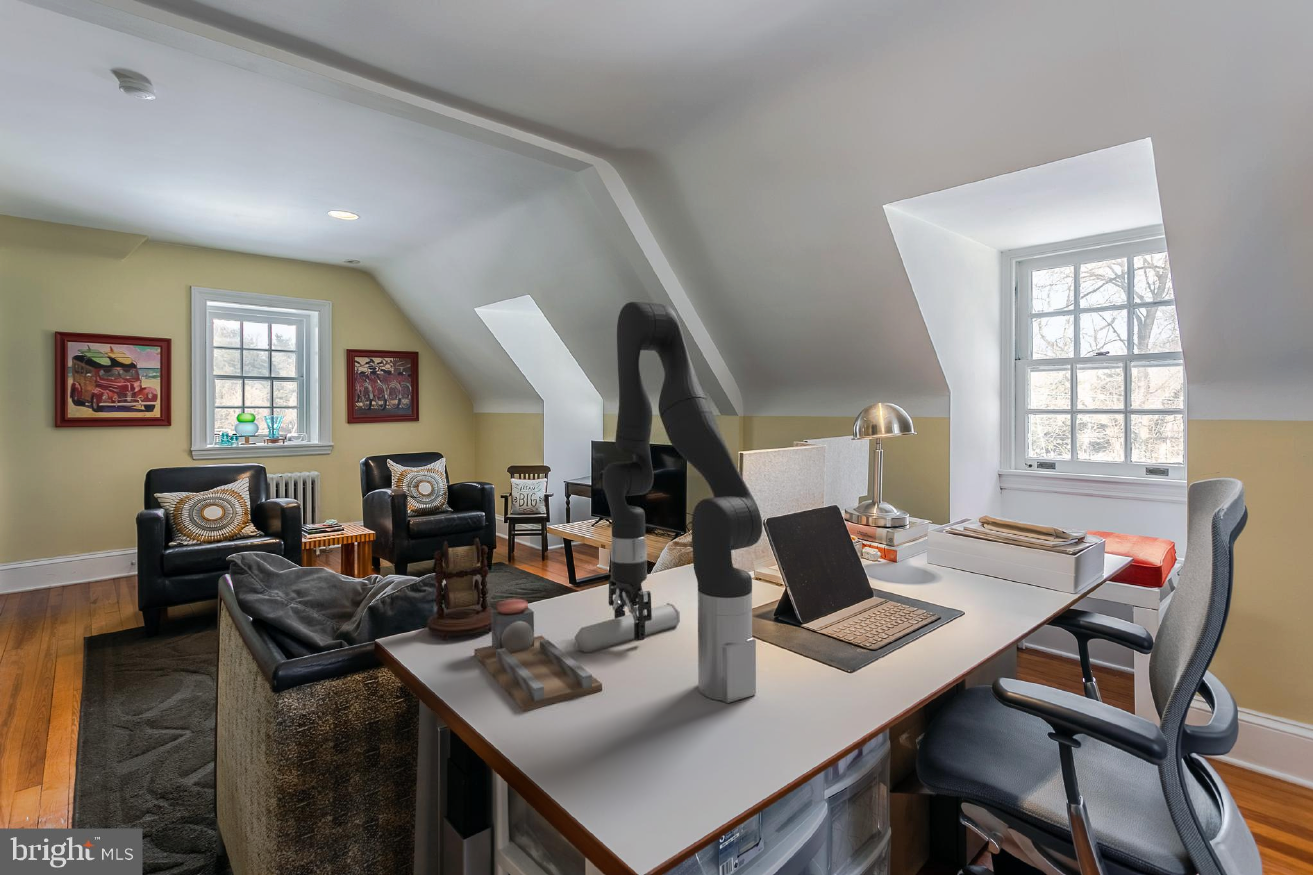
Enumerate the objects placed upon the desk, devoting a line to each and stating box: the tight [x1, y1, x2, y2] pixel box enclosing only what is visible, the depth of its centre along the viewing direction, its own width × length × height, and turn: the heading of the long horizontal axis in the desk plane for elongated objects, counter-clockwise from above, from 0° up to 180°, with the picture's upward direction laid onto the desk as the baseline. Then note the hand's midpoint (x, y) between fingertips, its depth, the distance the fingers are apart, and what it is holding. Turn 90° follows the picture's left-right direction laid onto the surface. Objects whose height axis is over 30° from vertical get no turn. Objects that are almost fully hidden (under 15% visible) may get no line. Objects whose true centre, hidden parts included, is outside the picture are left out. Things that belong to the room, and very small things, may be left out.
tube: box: [574, 602, 681, 654], centre depth 135 cm, size 5×5×25 cm
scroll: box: [426, 537, 492, 642], centre depth 141 cm, size 15×15×20 cm
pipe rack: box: [473, 598, 603, 712], centre depth 118 cm, size 28×14×10 cm, turn 32°
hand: (629, 633), depth 134 cm, fingers open, 8 cm apart
